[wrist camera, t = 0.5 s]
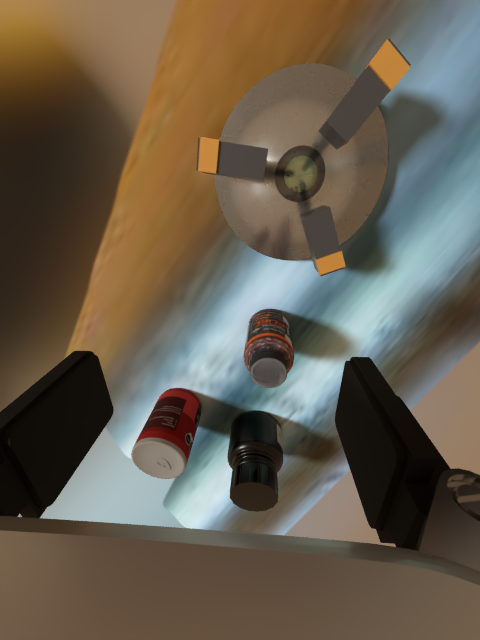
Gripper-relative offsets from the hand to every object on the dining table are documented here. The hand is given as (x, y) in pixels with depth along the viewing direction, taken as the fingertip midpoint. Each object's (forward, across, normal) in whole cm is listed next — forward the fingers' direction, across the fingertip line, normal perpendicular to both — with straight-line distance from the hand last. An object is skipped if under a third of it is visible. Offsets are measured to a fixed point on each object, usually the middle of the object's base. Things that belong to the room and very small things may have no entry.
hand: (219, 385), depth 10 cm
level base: (+26, -6, -8) cm, 28 cm away
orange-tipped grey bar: (+24, -8, -2) cm, 25 cm away
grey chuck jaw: (+24, -10, -14) cm, 29 cm away
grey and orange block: (+24, +1, -10) cm, 26 cm away
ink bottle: (+27, -1, +31) cm, 41 cm away
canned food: (+27, +12, +26) cm, 39 cm away
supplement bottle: (+26, -3, +10) cm, 29 cm away
